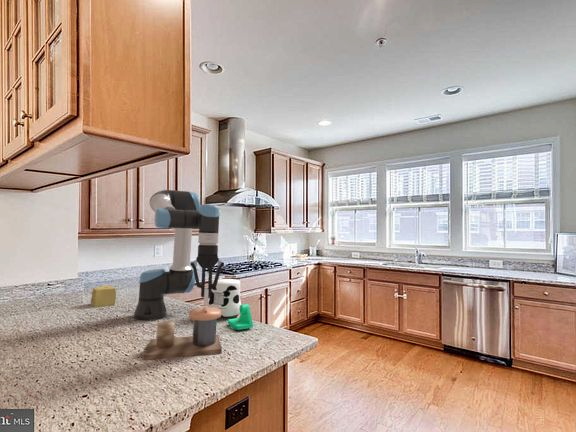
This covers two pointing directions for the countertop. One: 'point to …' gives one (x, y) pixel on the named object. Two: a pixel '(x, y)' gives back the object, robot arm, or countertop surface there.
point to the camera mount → (242, 319)
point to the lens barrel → (204, 332)
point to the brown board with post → (176, 344)
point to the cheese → (103, 296)
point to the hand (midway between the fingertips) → (205, 305)
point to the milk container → (226, 297)
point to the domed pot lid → (205, 313)
